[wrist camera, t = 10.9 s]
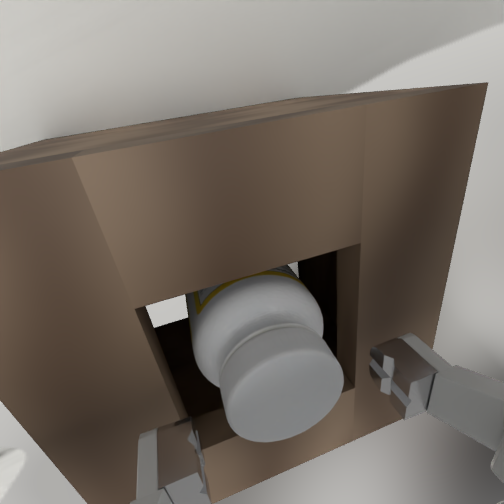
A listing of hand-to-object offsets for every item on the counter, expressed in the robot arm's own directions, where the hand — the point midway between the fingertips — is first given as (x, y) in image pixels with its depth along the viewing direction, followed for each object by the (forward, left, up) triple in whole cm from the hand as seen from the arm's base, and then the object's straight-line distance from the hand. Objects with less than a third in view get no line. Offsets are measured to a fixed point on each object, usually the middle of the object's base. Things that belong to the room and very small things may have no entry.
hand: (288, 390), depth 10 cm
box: (0, 0, -14) cm, 15 cm away
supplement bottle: (0, 0, -10) cm, 10 cm away
